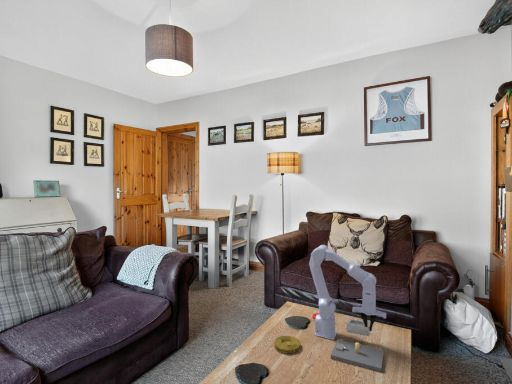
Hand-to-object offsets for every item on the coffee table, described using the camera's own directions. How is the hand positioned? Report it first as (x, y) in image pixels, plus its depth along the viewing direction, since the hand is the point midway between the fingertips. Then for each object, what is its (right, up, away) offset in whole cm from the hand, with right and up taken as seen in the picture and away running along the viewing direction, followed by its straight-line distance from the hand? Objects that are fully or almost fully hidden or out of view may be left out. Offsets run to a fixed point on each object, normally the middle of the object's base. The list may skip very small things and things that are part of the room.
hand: (368, 329), depth 133 cm
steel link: (-4, -2, +2) cm, 5 cm away
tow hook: (-17, -7, +27) cm, 33 cm away
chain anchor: (-14, -6, -5) cm, 16 cm away
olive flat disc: (-38, -8, -1) cm, 39 cm away
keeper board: (-8, -7, -8) cm, 14 cm away
